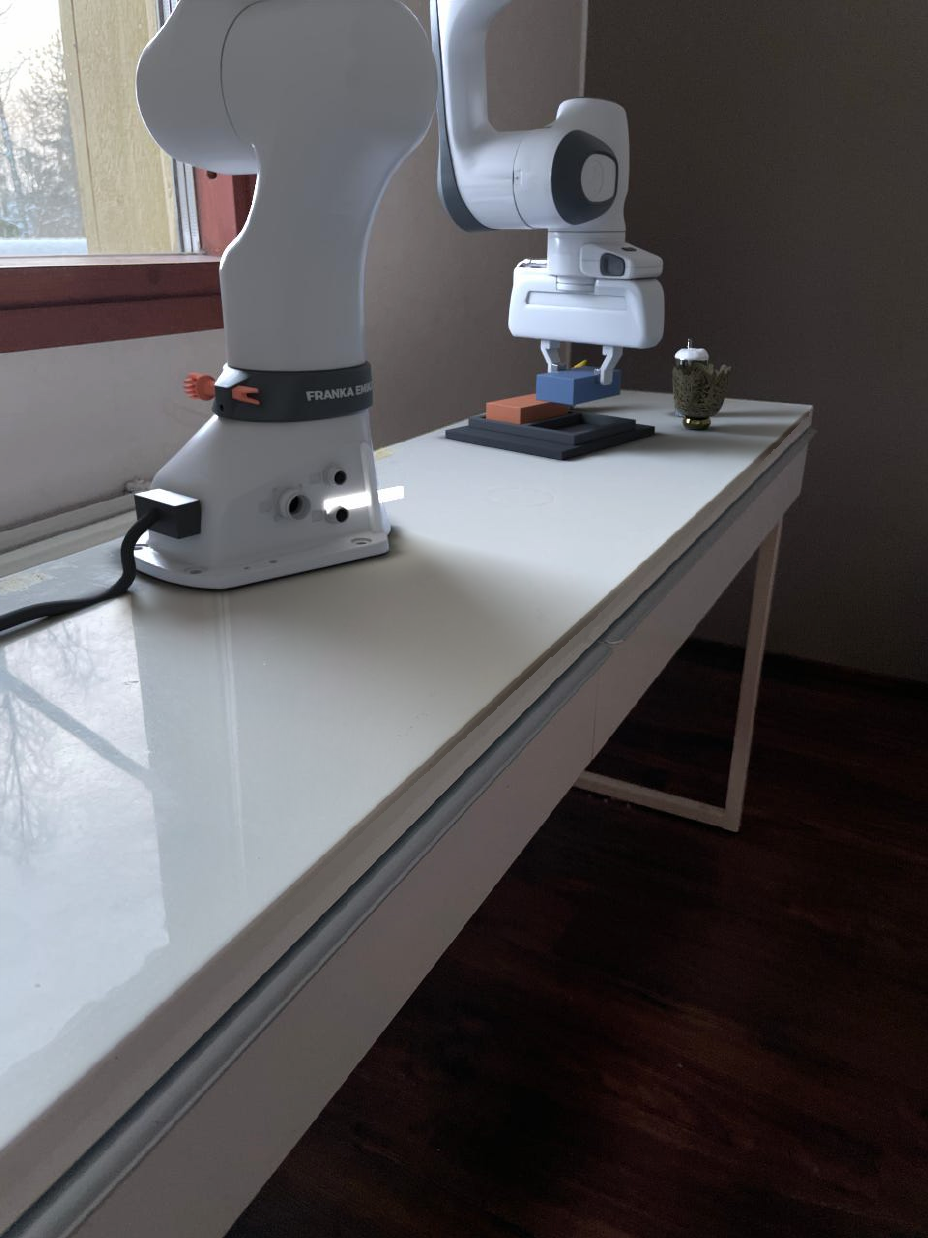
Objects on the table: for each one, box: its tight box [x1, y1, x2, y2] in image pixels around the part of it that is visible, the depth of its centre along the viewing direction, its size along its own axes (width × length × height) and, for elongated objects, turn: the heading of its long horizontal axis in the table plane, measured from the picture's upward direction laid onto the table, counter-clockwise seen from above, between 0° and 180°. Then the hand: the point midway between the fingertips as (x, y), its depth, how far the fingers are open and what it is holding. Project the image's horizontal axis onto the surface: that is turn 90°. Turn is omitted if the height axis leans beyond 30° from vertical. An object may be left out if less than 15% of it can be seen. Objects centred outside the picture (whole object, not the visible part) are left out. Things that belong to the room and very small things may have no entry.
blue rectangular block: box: [535, 365, 623, 406], centre depth 115 cm, size 10×6×3 cm, turn 138°
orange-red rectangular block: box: [485, 392, 568, 425], centre depth 122 cm, size 10×6×3 cm, turn 138°
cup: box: [671, 362, 733, 431], centre depth 124 cm, size 8×7×8 cm
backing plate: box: [444, 409, 656, 461], centre depth 120 cm, size 20×18×2 cm
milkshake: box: [674, 338, 710, 418], centre depth 132 cm, size 4×5×10 cm
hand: (579, 381), depth 115 cm, fingers closed on blue rectangular block, 5 cm apart
